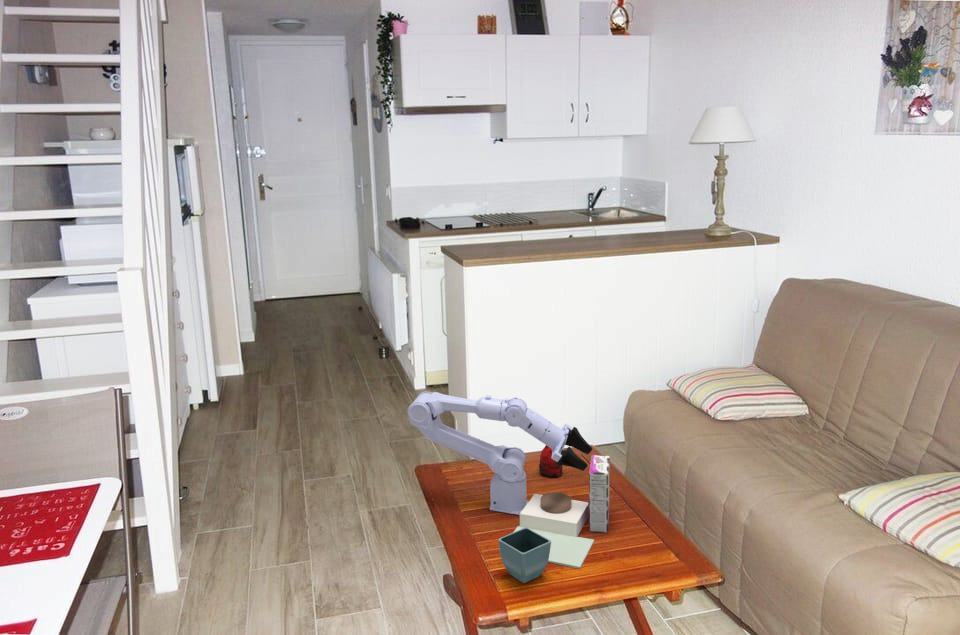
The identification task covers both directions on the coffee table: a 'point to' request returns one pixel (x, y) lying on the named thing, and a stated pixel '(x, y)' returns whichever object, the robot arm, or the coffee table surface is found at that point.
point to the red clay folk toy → (549, 464)
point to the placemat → (565, 548)
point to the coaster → (555, 503)
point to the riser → (555, 517)
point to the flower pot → (524, 554)
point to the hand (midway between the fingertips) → (588, 459)
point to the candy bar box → (599, 493)
